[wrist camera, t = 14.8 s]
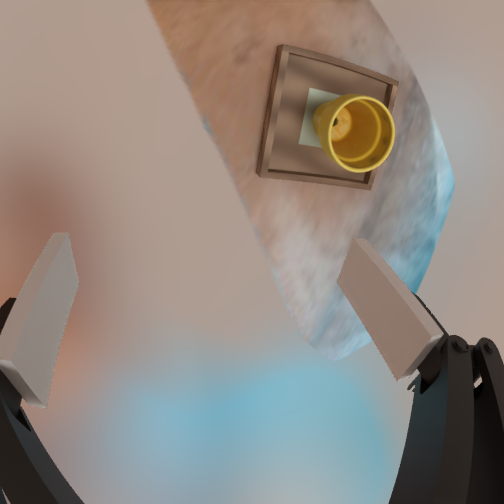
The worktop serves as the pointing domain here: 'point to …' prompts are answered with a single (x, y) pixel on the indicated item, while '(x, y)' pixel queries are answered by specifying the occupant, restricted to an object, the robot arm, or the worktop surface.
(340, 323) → the worktop surface
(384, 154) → the plant pot
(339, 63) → the walnut tray
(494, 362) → the robot arm
